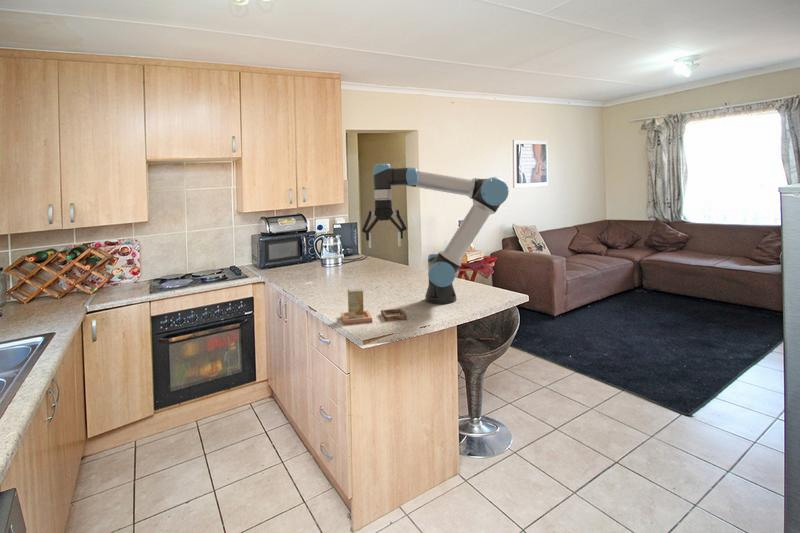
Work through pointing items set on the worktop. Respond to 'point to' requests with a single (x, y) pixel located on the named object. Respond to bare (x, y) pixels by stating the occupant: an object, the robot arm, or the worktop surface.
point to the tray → (348, 321)
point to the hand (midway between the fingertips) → (384, 246)
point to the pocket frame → (395, 317)
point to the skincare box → (355, 303)
